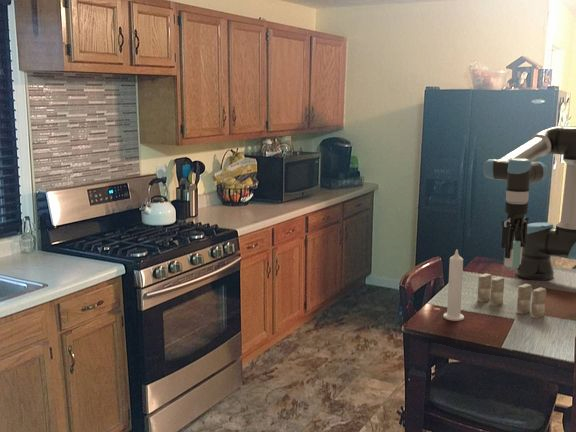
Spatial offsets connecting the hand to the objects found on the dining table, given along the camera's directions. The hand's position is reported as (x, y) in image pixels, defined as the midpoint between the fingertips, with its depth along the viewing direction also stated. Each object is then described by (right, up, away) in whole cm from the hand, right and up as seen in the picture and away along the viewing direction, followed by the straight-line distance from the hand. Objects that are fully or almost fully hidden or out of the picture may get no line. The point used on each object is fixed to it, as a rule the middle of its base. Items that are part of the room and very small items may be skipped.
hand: (512, 264), depth 214 cm
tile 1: (+7, -18, -5) cm, 20 cm away
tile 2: (+4, -17, -1) cm, 17 cm away
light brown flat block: (-7, -15, +12) cm, 20 cm away
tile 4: (-3, -15, +8) cm, 17 cm away
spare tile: (0, -1, 0) cm, 1 cm away
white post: (-23, -18, -6) cm, 30 cm away
